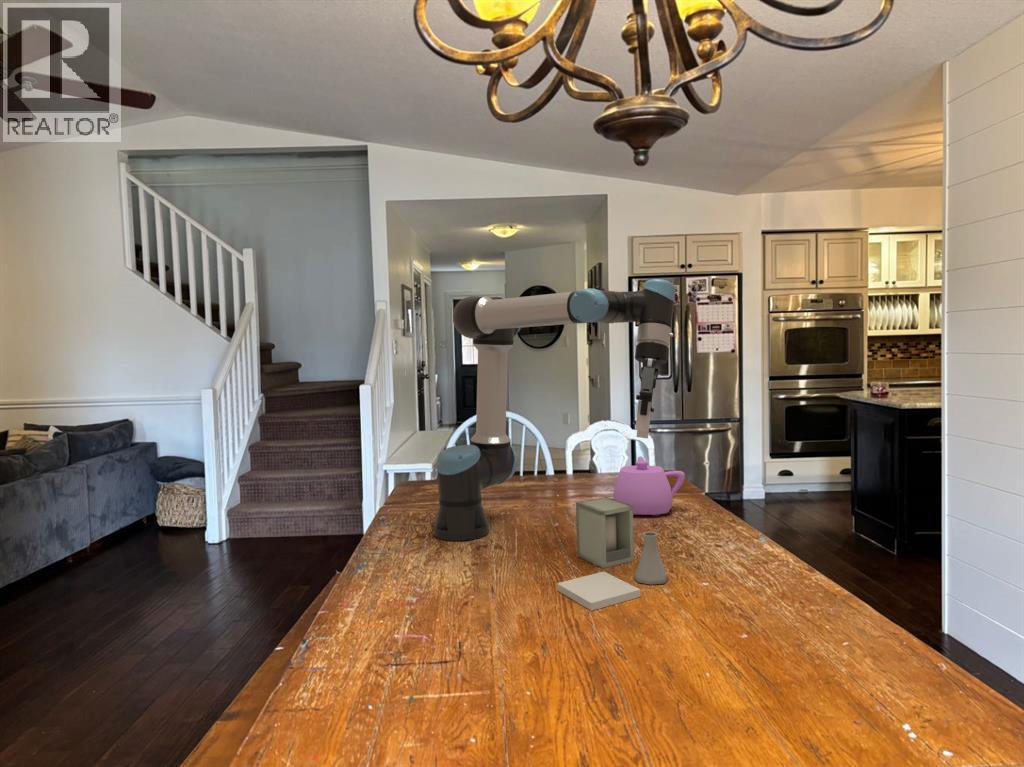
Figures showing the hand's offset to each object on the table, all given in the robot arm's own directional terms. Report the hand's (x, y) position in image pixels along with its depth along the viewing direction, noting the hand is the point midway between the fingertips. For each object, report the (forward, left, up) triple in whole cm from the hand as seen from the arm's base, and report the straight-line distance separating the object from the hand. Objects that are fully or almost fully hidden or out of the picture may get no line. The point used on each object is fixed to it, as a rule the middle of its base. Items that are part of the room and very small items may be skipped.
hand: (641, 434), depth 145 cm
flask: (+12, -2, -30) cm, 32 cm away
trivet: (+17, -15, -29) cm, 37 cm away
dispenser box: (-3, -9, -30) cm, 31 cm away
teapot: (-42, +11, -30) cm, 53 cm away
